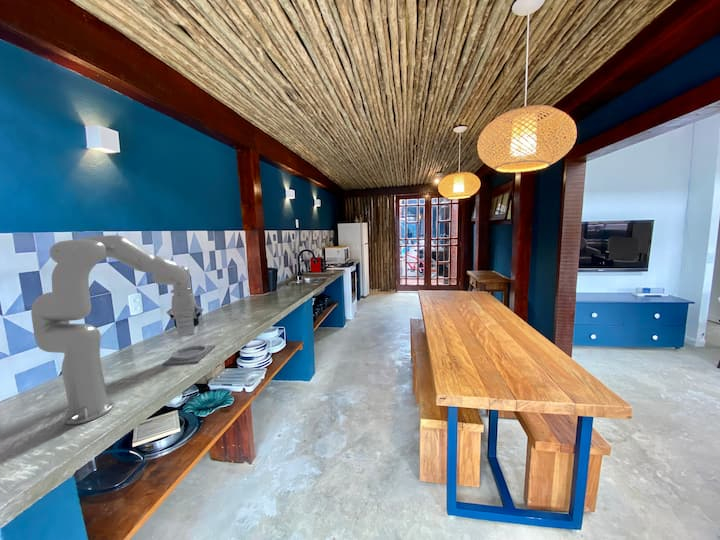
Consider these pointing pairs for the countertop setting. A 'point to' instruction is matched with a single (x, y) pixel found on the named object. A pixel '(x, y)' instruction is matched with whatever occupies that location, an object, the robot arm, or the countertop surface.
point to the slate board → (188, 353)
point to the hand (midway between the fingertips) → (187, 326)
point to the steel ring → (190, 355)
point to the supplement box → (185, 323)
